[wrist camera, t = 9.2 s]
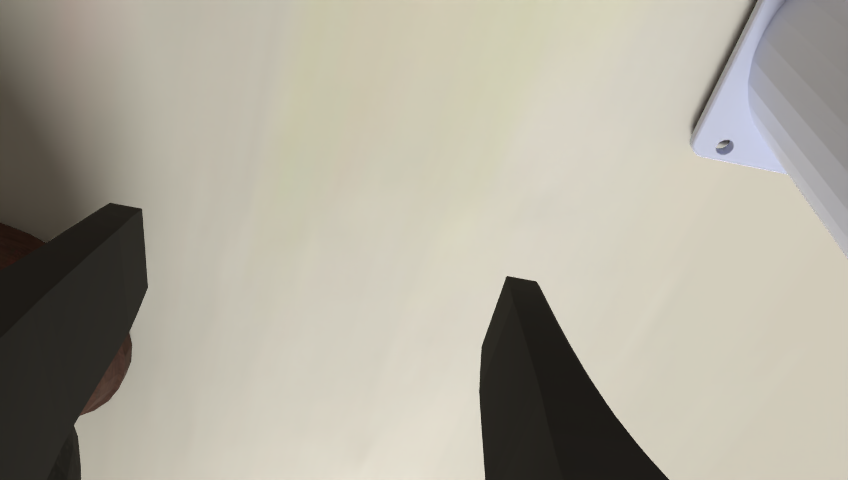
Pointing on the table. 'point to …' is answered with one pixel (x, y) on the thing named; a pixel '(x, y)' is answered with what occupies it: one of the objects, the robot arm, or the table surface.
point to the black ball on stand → (10, 246)
